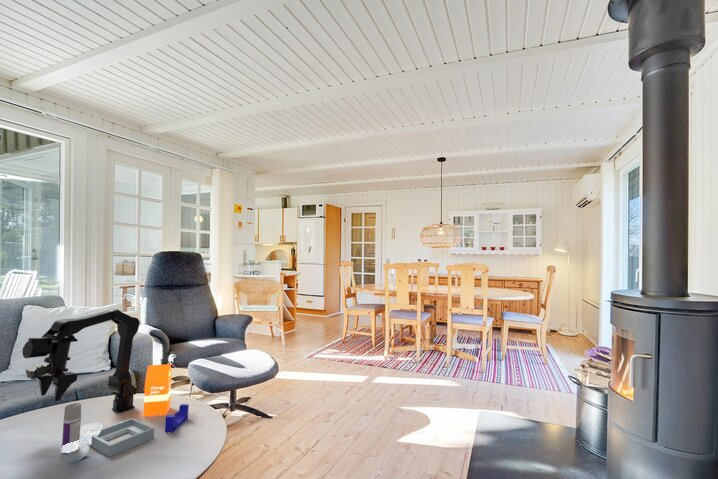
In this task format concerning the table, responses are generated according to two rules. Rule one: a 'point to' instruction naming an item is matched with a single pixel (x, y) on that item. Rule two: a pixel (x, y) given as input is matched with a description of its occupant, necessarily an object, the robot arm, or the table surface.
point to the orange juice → (157, 390)
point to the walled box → (131, 426)
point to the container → (71, 423)
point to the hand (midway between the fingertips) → (49, 398)
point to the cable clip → (176, 419)
